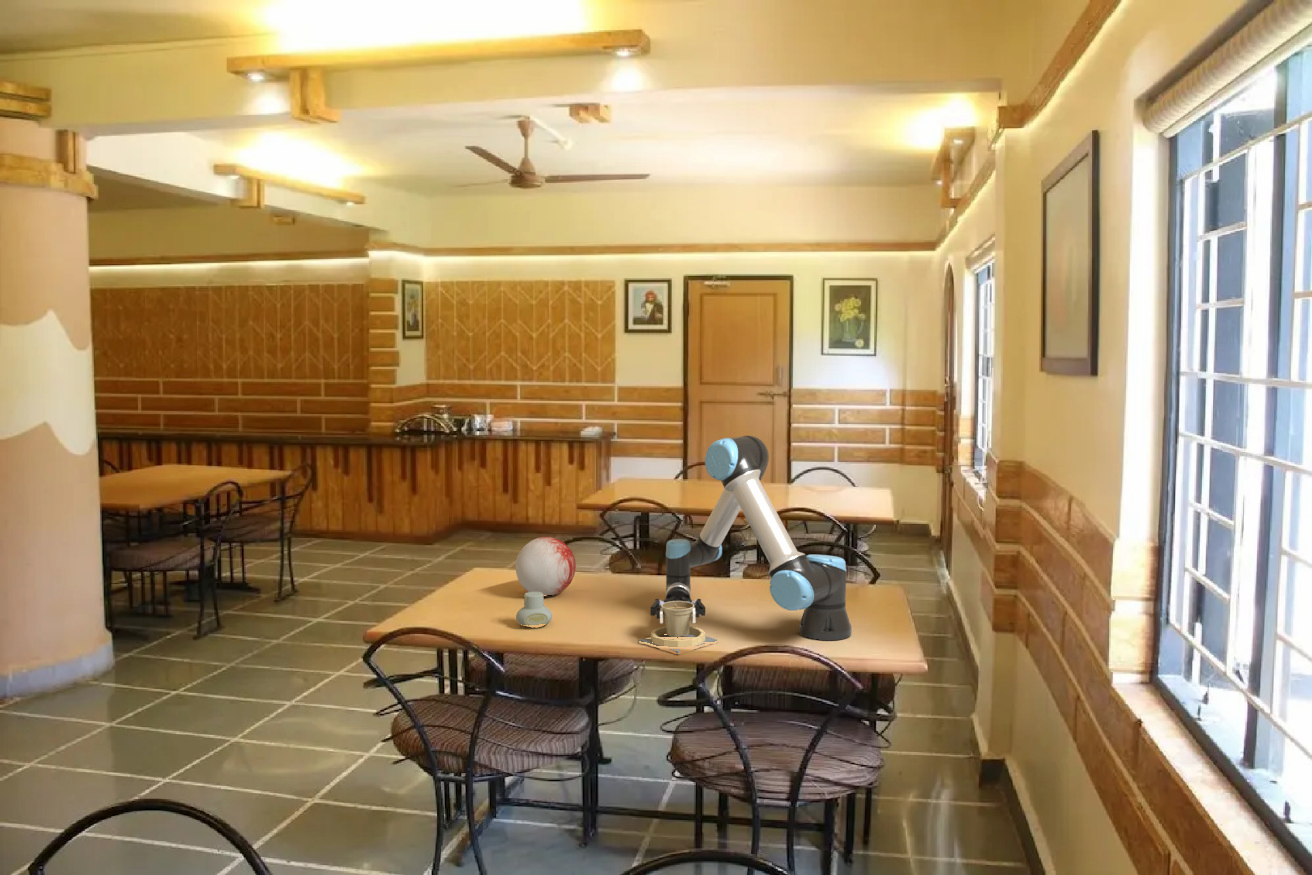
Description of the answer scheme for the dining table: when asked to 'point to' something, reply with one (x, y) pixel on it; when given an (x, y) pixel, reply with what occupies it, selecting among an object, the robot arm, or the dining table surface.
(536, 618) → the air freshener
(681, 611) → the flower pot
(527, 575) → the decorative orb
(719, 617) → the dining table surface
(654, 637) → the collar plate
